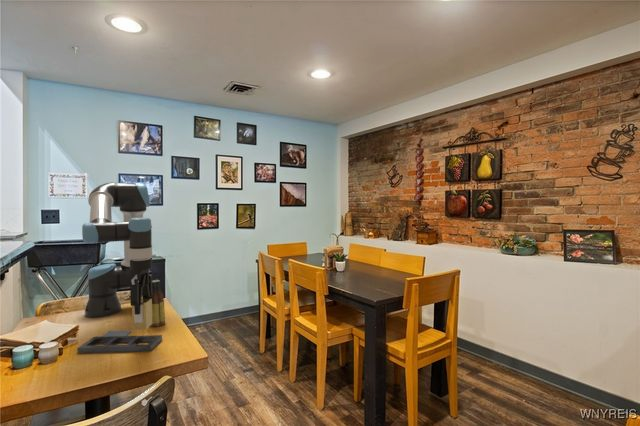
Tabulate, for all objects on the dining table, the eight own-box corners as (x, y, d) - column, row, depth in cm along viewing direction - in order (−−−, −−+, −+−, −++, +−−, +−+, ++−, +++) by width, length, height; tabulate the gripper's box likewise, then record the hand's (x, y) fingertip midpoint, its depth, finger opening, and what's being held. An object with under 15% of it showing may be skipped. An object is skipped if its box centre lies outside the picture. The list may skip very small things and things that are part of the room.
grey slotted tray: (94, 341, 132) (94, 336, 132) (162, 340, 134) (162, 335, 134) (77, 353, 122) (77, 348, 122) (150, 351, 124) (150, 346, 124)
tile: (109, 332, 142) (109, 330, 142) (131, 331, 142) (131, 330, 142) (96, 341, 133) (96, 339, 133) (119, 340, 133) (119, 339, 133)
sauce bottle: (162, 321, 155) (161, 278, 154) (167, 324, 150) (166, 280, 149) (147, 324, 150) (145, 280, 149) (151, 328, 146) (150, 283, 145)
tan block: (139, 324, 131) (138, 298, 130) (152, 323, 131) (151, 298, 131) (132, 329, 126) (131, 302, 125) (146, 328, 126) (145, 302, 126)
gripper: (142, 254, 136) (143, 311, 137) (117, 263, 118) (119, 328, 119) (161, 254, 136) (162, 311, 138) (139, 263, 118) (141, 328, 120)
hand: (142, 319), depth 128 cm, fingers closed on tan block, 5 cm apart
